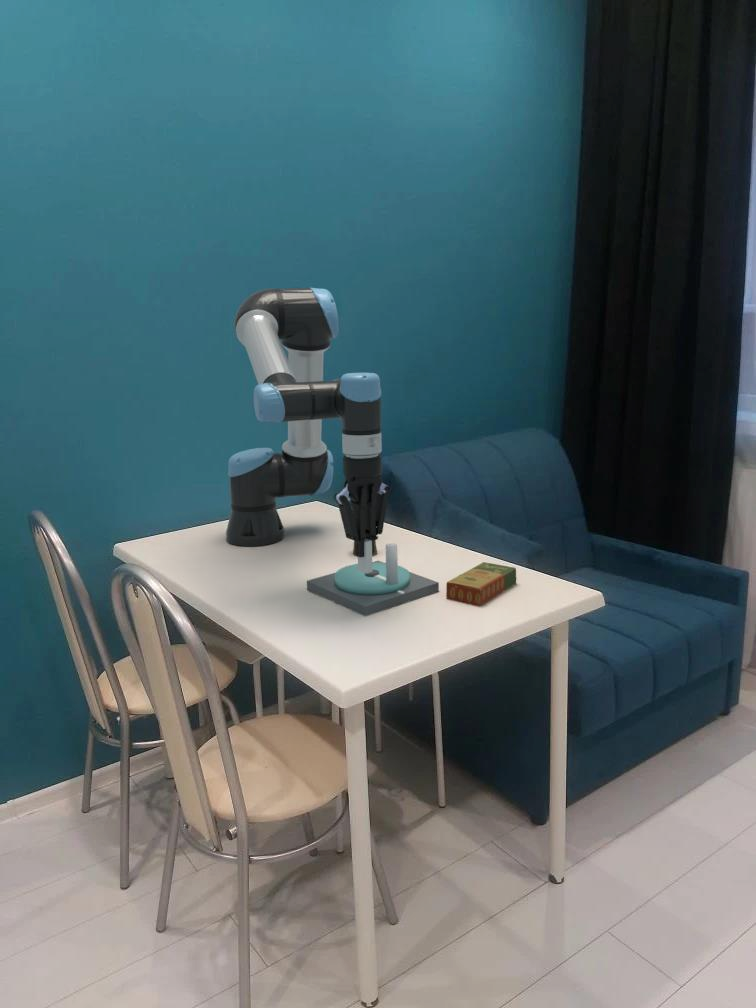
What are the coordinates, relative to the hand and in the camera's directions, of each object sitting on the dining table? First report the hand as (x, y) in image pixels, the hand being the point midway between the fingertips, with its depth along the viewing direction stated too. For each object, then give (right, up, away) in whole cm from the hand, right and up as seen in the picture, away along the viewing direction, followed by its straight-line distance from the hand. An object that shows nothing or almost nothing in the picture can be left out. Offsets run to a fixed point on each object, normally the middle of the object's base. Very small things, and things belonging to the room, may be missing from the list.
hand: (365, 570), depth 155 cm
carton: (+25, -6, +10) cm, 27 cm away
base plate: (+1, -5, +11) cm, 12 cm away
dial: (+1, -3, +11) cm, 11 cm away
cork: (-1, +1, +36) cm, 36 cm away
